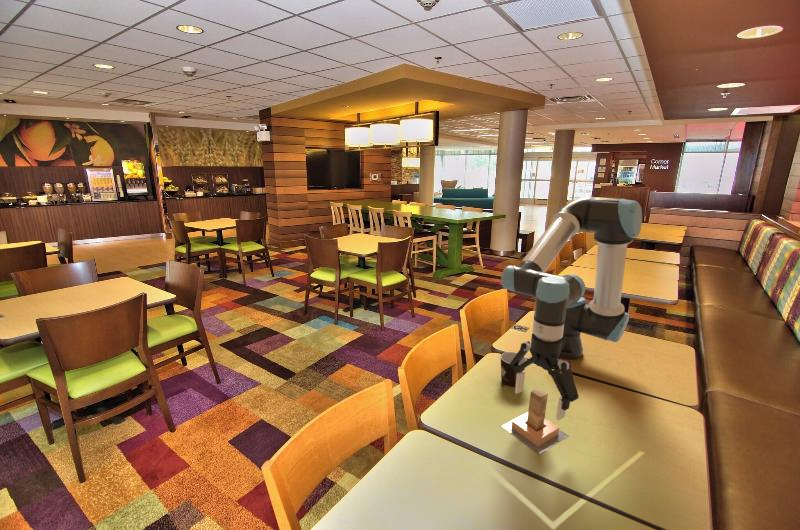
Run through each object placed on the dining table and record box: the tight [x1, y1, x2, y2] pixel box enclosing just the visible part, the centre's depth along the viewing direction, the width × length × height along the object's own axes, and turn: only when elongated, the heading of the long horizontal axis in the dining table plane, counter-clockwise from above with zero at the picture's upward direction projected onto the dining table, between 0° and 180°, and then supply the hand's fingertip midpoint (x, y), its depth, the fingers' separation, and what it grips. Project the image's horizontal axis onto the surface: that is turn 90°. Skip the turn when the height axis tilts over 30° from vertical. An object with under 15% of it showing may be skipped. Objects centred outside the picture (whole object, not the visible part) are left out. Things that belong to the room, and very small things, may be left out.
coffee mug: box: [500, 351, 528, 388], centre depth 131 cm, size 12×9×10 cm
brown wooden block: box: [527, 387, 549, 432], centre depth 105 cm, size 3×3×12 cm
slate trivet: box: [501, 411, 570, 456], centre depth 107 cm, size 13×13×1 cm
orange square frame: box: [511, 412, 560, 447], centre depth 106 cm, size 9×9×2 cm
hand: (538, 404), depth 104 cm, fingers open, 13 cm apart
